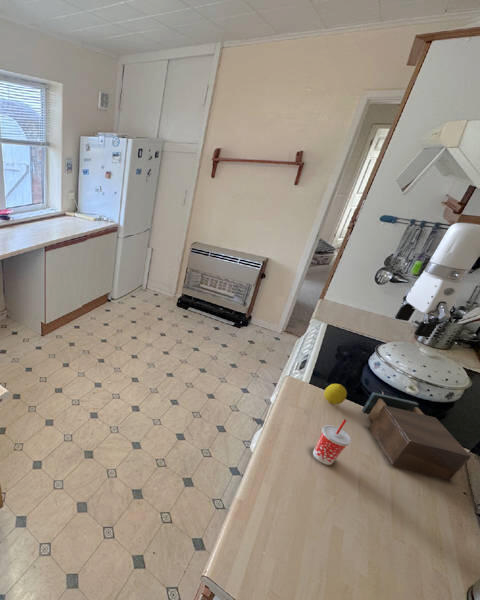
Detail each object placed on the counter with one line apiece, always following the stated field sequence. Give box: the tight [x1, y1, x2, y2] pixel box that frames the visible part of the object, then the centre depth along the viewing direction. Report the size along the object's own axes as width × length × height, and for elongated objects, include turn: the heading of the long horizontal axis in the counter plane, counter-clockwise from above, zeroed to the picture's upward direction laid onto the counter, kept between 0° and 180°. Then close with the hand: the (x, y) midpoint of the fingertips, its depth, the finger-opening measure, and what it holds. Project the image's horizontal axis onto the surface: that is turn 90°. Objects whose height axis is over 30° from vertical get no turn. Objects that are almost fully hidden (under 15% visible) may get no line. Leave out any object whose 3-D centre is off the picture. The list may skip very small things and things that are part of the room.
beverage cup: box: [312, 419, 352, 466], centre depth 85 cm, size 6×6×14 cm
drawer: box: [361, 391, 425, 423], centre depth 97 cm, size 17×11×8 cm
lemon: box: [323, 383, 348, 405], centre depth 106 cm, size 6×6×8 cm
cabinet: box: [368, 405, 472, 482], centre depth 89 cm, size 14×13×10 cm
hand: (410, 327), depth 92 cm, fingers open, 9 cm apart
